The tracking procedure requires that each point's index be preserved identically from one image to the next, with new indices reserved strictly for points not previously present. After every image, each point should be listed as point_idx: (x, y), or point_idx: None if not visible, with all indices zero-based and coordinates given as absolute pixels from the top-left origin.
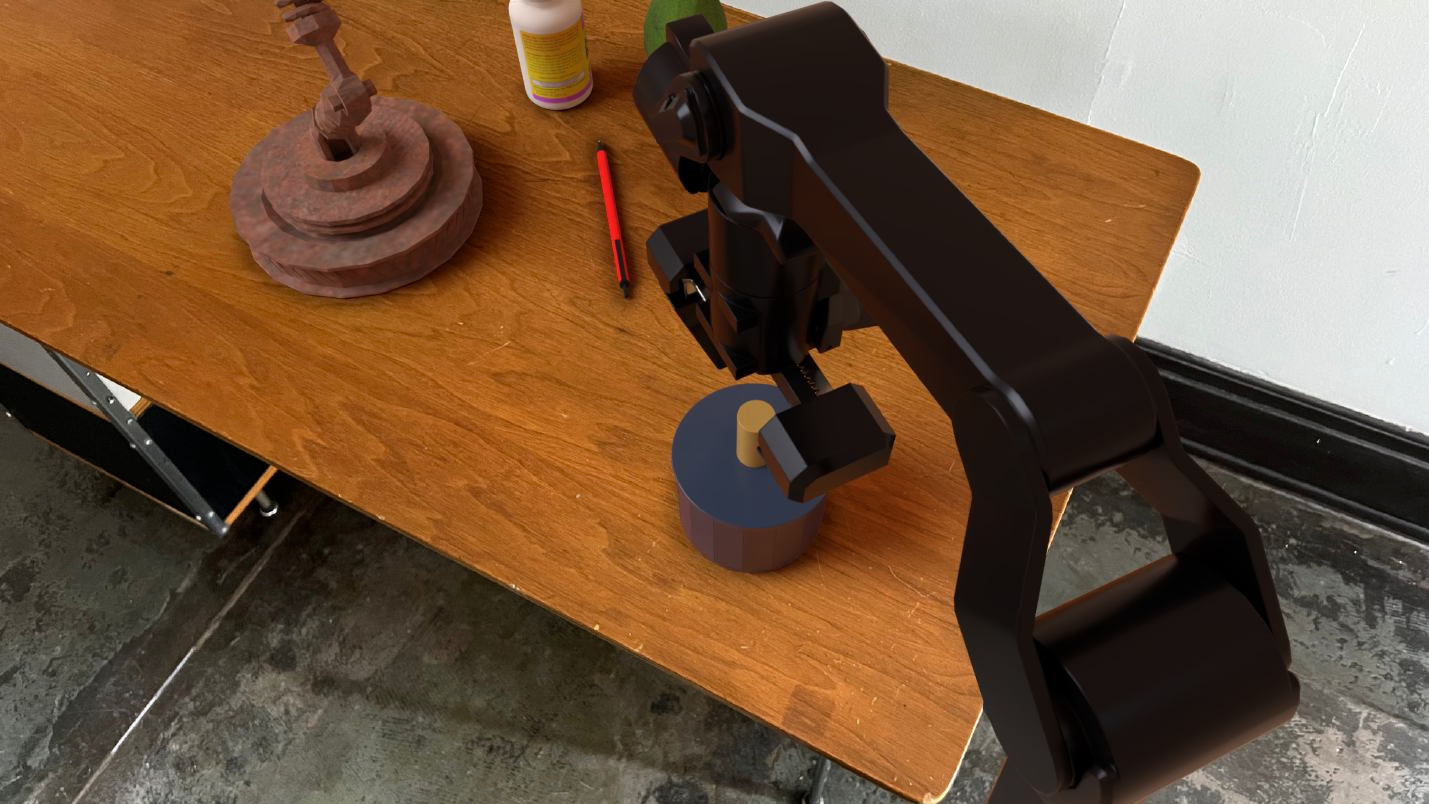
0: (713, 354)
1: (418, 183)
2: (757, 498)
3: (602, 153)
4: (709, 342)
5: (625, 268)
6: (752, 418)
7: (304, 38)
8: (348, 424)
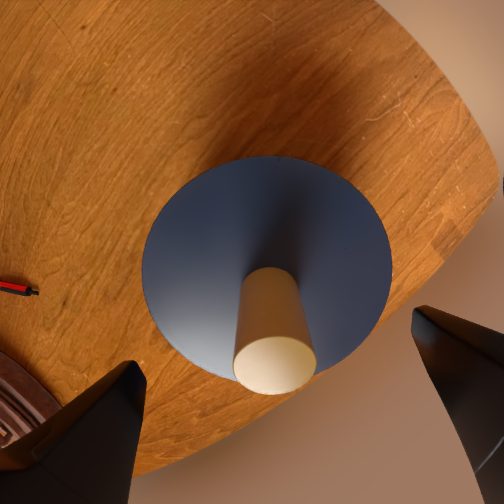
0: (135, 430)
1: (5, 402)
2: (344, 305)
3: None
4: (123, 460)
5: (17, 288)
6: (279, 376)
7: None
8: (151, 445)
